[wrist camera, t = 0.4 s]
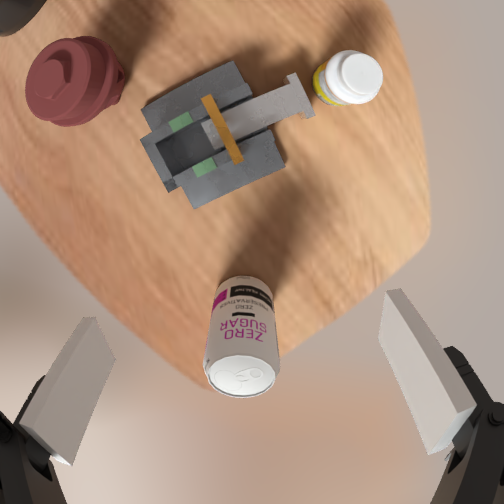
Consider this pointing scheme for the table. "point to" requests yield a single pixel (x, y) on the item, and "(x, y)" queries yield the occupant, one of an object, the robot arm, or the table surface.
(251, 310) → the supplement can
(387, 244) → the table surface
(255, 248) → the table surface
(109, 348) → the robot arm
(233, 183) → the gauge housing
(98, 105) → the mechanical component
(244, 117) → the plunger
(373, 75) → the supplement bottle
